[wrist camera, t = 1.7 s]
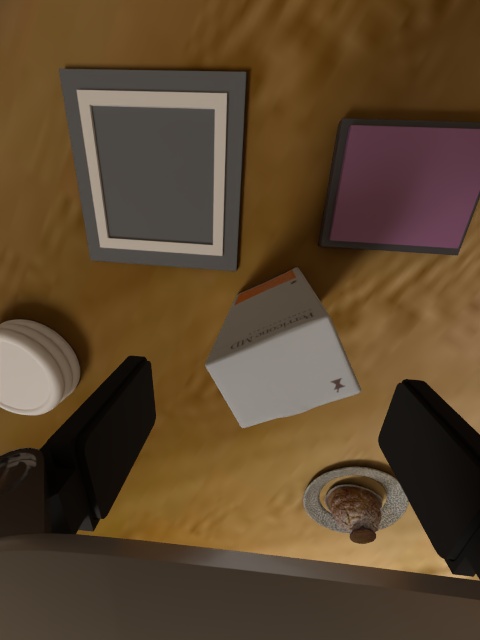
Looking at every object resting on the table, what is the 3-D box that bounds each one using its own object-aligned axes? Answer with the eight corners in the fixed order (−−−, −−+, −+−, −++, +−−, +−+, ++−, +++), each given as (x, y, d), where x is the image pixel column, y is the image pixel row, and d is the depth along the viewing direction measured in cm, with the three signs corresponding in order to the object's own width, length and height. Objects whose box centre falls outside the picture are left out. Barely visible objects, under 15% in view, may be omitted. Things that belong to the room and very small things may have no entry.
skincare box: (297, 264, 21) (334, 312, 9) (315, 308, 22) (367, 396, 11) (233, 294, 22) (200, 365, 11) (253, 333, 23) (242, 433, 12)
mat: (246, 75, 16) (246, 70, 16) (236, 270, 21) (235, 271, 21) (63, 72, 17) (56, 66, 17) (93, 259, 22) (89, 260, 22)
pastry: (339, 443, 28) (352, 483, 23) (426, 485, 29) (454, 531, 25) (284, 500, 32) (287, 542, 28) (361, 535, 33) (375, 581, 29)
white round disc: (-12, 368, 28) (-47, 387, 25) (4, 299, 25) (-35, 311, 22) (69, 409, 30) (44, 432, 26) (94, 349, 26) (70, 367, 23)
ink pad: (493, 128, 16) (514, 120, 15) (448, 253, 19) (462, 256, 18) (338, 124, 17) (344, 115, 15) (318, 245, 20) (322, 246, 18)
